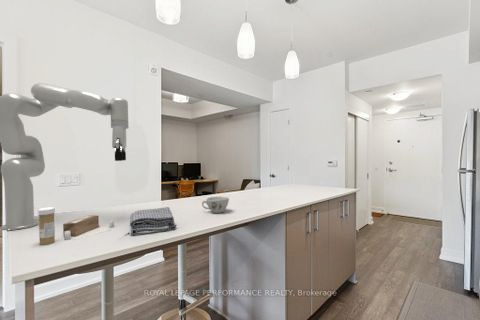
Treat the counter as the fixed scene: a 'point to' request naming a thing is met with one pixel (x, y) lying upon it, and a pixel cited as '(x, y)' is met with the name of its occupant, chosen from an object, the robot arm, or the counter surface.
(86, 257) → the counter surface
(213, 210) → the teacup
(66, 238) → the panel
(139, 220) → the towel
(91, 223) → the frame
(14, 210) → the robot arm
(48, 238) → the pill bottle
